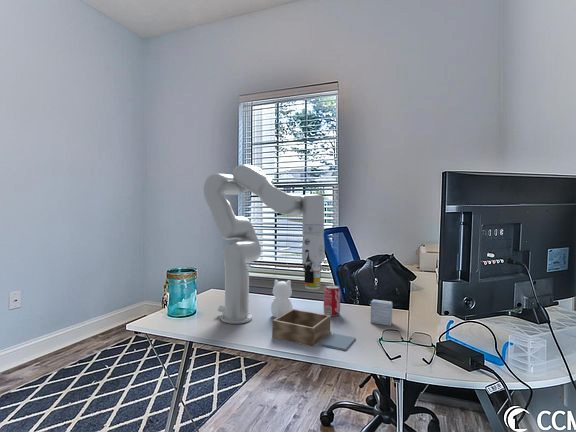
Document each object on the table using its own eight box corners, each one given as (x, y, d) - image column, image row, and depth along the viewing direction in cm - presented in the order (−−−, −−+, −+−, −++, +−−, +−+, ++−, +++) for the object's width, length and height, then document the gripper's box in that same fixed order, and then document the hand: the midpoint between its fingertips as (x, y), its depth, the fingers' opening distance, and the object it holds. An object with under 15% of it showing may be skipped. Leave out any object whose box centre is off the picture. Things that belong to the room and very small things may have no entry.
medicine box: (392, 323, 135) (392, 301, 135) (390, 326, 131) (391, 304, 131) (372, 319, 138) (372, 299, 138) (370, 323, 134) (370, 301, 134)
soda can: (339, 312, 148) (340, 285, 147) (340, 317, 141) (341, 288, 140) (323, 311, 148) (323, 284, 148) (323, 316, 141) (324, 288, 141)
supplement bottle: (304, 286, 121) (304, 259, 121) (318, 286, 121) (319, 259, 121) (306, 289, 116) (306, 261, 115) (321, 289, 116) (321, 261, 116)
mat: (322, 345, 111) (322, 343, 111) (333, 334, 121) (333, 333, 121) (345, 350, 107) (345, 349, 107) (355, 339, 117) (355, 337, 117)
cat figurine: (293, 313, 146) (294, 278, 146) (290, 322, 133) (291, 284, 133) (272, 312, 147) (273, 277, 147) (267, 321, 134) (268, 283, 134)
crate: (272, 337, 117) (272, 320, 117) (292, 324, 131) (292, 308, 131) (313, 346, 110) (313, 328, 110) (330, 331, 124) (330, 315, 124)
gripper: (313, 231, 109) (312, 287, 109) (331, 228, 124) (331, 278, 124) (292, 230, 112) (292, 284, 113) (313, 228, 128) (312, 276, 128)
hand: (312, 280), depth 118 cm, fingers closed on supplement bottle, 5 cm apart
